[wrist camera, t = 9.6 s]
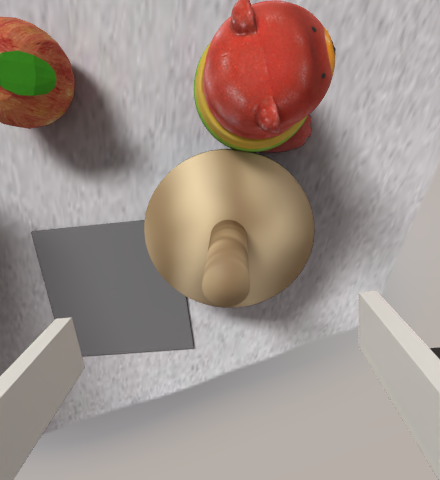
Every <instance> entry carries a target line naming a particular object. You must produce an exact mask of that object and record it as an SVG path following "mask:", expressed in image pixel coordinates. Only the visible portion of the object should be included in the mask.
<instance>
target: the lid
mask: <svg viewBox="0 0 440 480" xmlns="http://www.w3.org/2000/svg"><path fill="white" fill-rule="evenodd" d="M314 231H315V230H314V218H313V213H312V209H311V206H310V203H309V201H308V199H307V197H306V195H305V193H304V191H303V189H302V188H301V186H300V185H299V184H298V182H297V181H296V179H295V178H294V177H293V176H292V175H291V174H290V173H289V172H288V171H287V170H286V169H284V168H283V167H282V166H281V165H279V164H278V163H276V162H274V161H273V160H271V159H269V158H267V157H265V156H262V155H260V154H257V153H254V152H246V151H240V150H235V149H219V150H212V151H208V152H204V153H201V154H198V155H195V156H193V157H191V158H189V159H187V160H185V161H184V162H182V163H180V164H179V165H177V166H176V167H175V168H174V169H173V170H171V171H170V172H169V173H168V174H167V175H166V177H165V178H164V179H163V180H162V181H161V182H160V184H159V185H158V187H157V188H156V190H155V191H154V193H153V195H152V197H151V199H150V201H149V204H148V207H147V211H146V216H145V222H144V234H145V242H146V246H147V250H148V253H149V255H150V258H151V260H152V262H153V264H154V266H155V267H156V269H157V271H158V272H159V273H160V275H161V276H162V277H163V278H164V279H165V280H166V281H167V282H168V283H169V284H170V285H171V286H172V287H173V288H174V289H176V290H177V291H178V292H180V293H181V294H183V295H185V296H186V297H188V298H190V299H193V300H195V301H197V302H200V303H203V304H207V305H211V306H216V307H244V306H249V305H253V304H257V303H260V302H263V301H265V300H267V299H269V298H272V297H274V296H275V295H277V294H278V293H280V292H281V291H283V290H284V289H285V288H287V287H288V286H289V285H290V284H291V283H292V282H293V281H294V280H295V279H296V278H297V277H298V275H299V274H300V272H301V271H302V270H303V268H304V266H305V264H306V263H307V261H308V258H309V256H310V253H311V250H312V246H313V242H314Z"/></svg>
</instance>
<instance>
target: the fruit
mask: <svg viewBox="0 0 440 480" xmlns="http://www.w3.org/2000/svg"><path fill="white" fill-rule="evenodd" d="M74 88H75V78H74V75H73V71H72V68H71V64H70V61H69V59H68V57H67V56H66V54H65V53H64V51H63V50H62V49H61V47H60V46H59V44H58V43H57V42H56V41H55V40H54V39H53V38H52V37H51V36H49V35H48V34H47V33H46V32H45V31H43V30H41V29H40V28H38V27H36V26H35V25H33V24H31V23H30V22H27V21H23V20H20V19H17V18H11V17H0V122H1V123H3V124H6V125H11V126H17V127H23V128H28V129H31V128H36V127H41V126H45V125H49V124H52V123H53V122H54V121H56V120H57V119H58V118H59V117H61V116H62V115H63V114H64V113H66V111H67V109H68V107H69V105H70V103H71V101H72V99H73V97H74Z"/></svg>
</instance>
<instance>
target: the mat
mask: <svg viewBox="0 0 440 480" xmlns="http://www.w3.org/2000/svg"><path fill="white" fill-rule="evenodd" d="M144 222H145V220H140V221H130V222H120V223H110V224H100V225H90V226H80V227H70V228H60V229H51V230H41V231H32V232H31V234H32V238H33V242H34V245H35V249H36V253H37V256H38V260H39V264H40V268H41V271H42V275H43V279H44V282H45V286H46V290H47V293H48V297H49V301H50V304H51V308H52V312H53V315H54V319H59V318H70V317H72V320H73V324H74V328H75V332H76V336H77V340H78V343H79V347H80V351H81V355H82V356H90V355H104V354H118V353H133V352H147V351H161V350H175V349H189V348H194V345H193V338H192V332H191V325H190V319H189V312H188V305H187V299H186V296H185V295H183V294H181V293H180V292H178V291H177V290H176V289H174V288H173V287H172V286H171V285H170V284H169V283H168V282H167V281H166V280H165V279H164V278H163V277H162V276H161V275H160V273H159V272H158V271H157V269H156V267H155V266H154V264H153V262H152V260H151V258H150V255H149V253H148V250H147V246H146V242H145V234H144Z"/></svg>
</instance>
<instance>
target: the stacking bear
mask: <svg viewBox="0 0 440 480" xmlns="http://www.w3.org/2000/svg"><path fill="white" fill-rule="evenodd" d="M334 67H335V47H334V45H333V42H332V40H331V37H330V35H329V33H328V31H327V30H326V29H325V28H324V27H323V25H322V24H321V23H320V21H319V20H318V19H317V18H316V17H315V16H314V15H313V14H312V13H310V12H309V11H307V10H306V9H304V8H302V7H300V6H298V5H295V4H292V3H288V2H284V1H277V0H274V1H264V2H259V3H255V4H253V5H251V3H250V1H249V0H239V1H238V2H237V3H236V4H235V6H234V8H233V10H232V14H231V17H229V18H228V19H227V20H226V21H225V22H224V23H223V24H222V25H221V27H220V28H219V30H218V31H217V33H216V34H215V36H214V37H213V39H212V41H211V43H210V44H209V45H208V46H207V48H206V50H205V51H204V53H203V55H202V57H201V59H200V61H199V64H198V66H197V70H196V74H195V80H194V98H195V104H196V108H197V111H198V114H199V116H200V118H201V120H202V122H203V124H204V126H205V127H206V129H207V130H208V131H209V132H210V133H211V135H212V136H213V137H214V138H215V139H217V140H218V141H219V142H221V143H222V144H224V145H226V146H228V147H230V148H232V149H235V150H240V151H246V152H265V153H272V152H283V151H288V150H292V149H296V148H299V147H301V146H302V145H304V143H305V140H306V138H307V137H309V136H310V135H311V131H312V130H311V127H310V124H311V117H310V115H309V114H310V113H311V112H312V111H313V110H314V109H315V108H316V107H317V106H318V105H319V103H320V102H321V101H322V99H323V98H324V96H325V94H326V92H327V90H328V88H329V86H330V83H331V80H332V76H333V72H334Z"/></svg>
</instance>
